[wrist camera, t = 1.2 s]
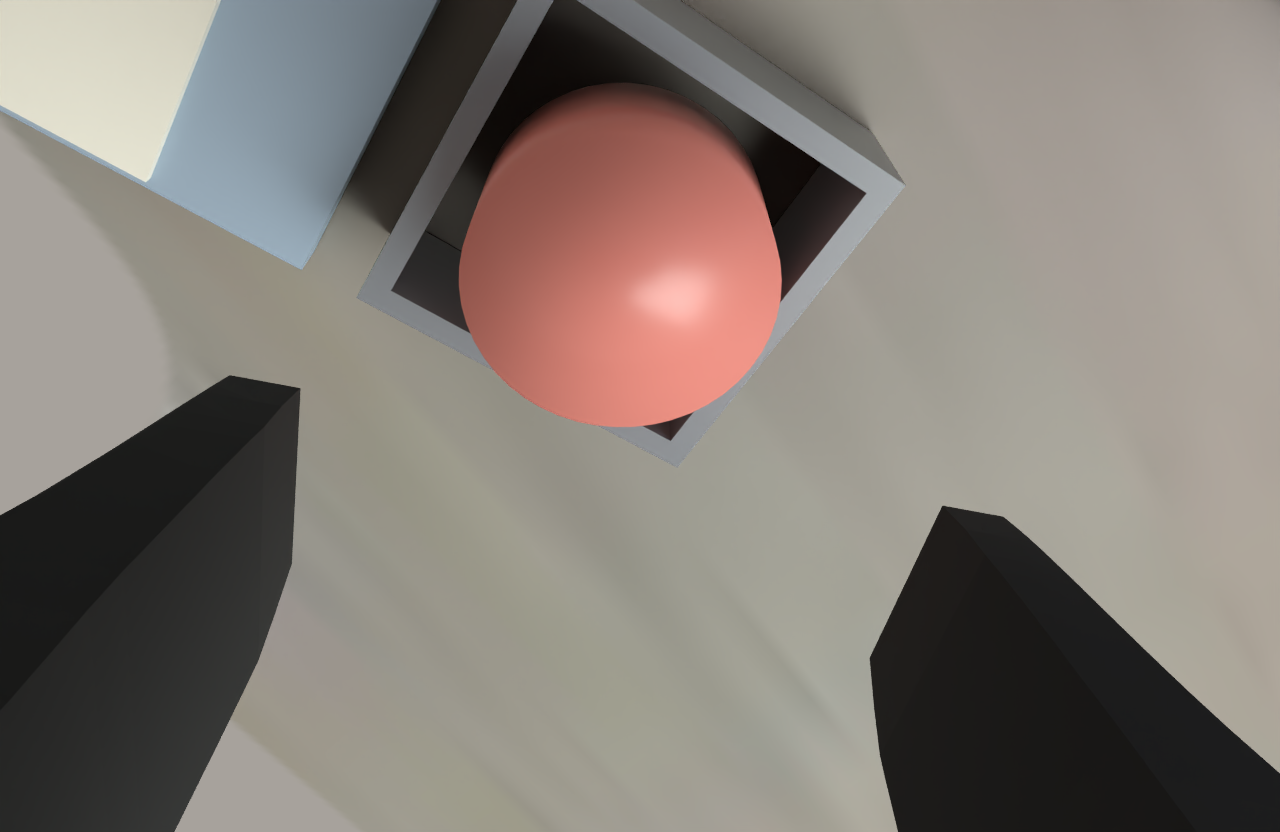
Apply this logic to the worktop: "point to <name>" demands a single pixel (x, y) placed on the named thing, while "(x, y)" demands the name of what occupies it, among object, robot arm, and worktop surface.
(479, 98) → the button housing
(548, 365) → the button
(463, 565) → the worktop surface
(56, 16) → the board
